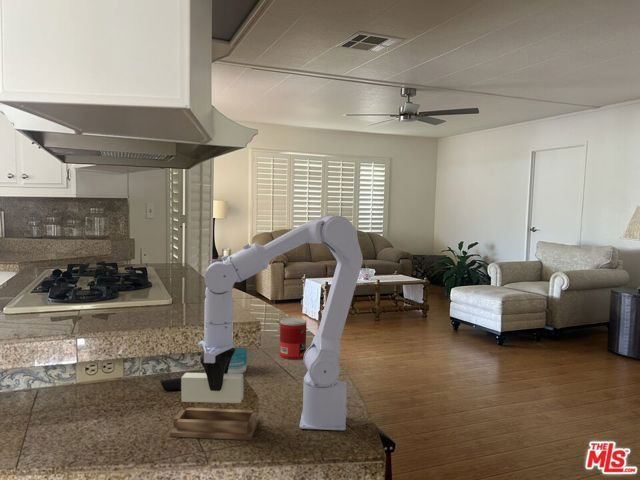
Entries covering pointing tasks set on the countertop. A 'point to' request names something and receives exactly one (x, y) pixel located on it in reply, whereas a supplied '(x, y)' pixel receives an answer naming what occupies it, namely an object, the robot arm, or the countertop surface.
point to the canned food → (292, 338)
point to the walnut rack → (215, 423)
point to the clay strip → (199, 391)
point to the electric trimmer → (171, 384)
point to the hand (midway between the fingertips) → (217, 387)
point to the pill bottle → (238, 361)
